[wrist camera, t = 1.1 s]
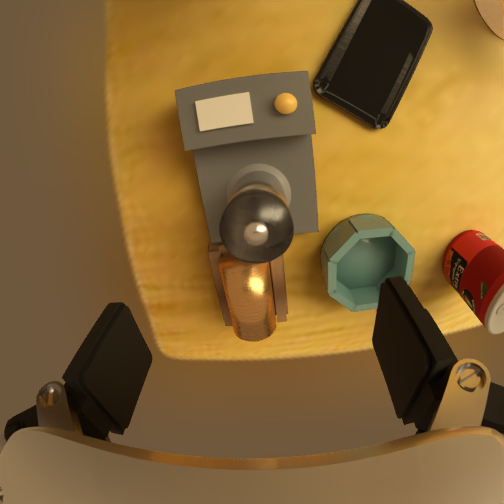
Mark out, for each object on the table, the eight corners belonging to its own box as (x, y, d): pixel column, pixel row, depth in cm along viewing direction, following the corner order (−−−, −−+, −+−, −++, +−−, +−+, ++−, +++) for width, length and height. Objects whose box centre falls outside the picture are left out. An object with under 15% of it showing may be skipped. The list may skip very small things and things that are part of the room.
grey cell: (228, 173, 23) (211, 202, 16) (281, 167, 23) (291, 193, 15) (237, 222, 25) (224, 271, 18) (287, 216, 25) (297, 264, 17)
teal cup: (318, 217, 27) (326, 232, 24) (402, 210, 26) (419, 224, 23) (320, 294, 31) (326, 316, 28) (394, 284, 30) (407, 303, 27)
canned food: (435, 247, 28) (487, 301, 18) (481, 216, 25) (538, 258, 16) (445, 291, 30) (485, 347, 21) (486, 263, 28) (532, 309, 18)
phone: (310, 89, 21) (371, -20, 14) (308, 90, 22) (367, -16, 15) (384, 134, 22) (436, 25, 16) (379, 133, 23) (430, 27, 17)
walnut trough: (210, 239, 28) (205, 252, 26) (280, 232, 28) (281, 244, 25) (226, 310, 32) (223, 325, 30) (287, 305, 32) (288, 320, 29)
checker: (189, 94, 22) (172, 89, 18) (300, 78, 21) (309, 69, 17) (214, 234, 28) (205, 258, 24) (315, 223, 27) (324, 245, 23)
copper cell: (222, 249, 27) (214, 273, 23) (267, 244, 27) (268, 268, 23) (236, 318, 31) (233, 346, 27) (276, 315, 30) (277, 343, 27)
